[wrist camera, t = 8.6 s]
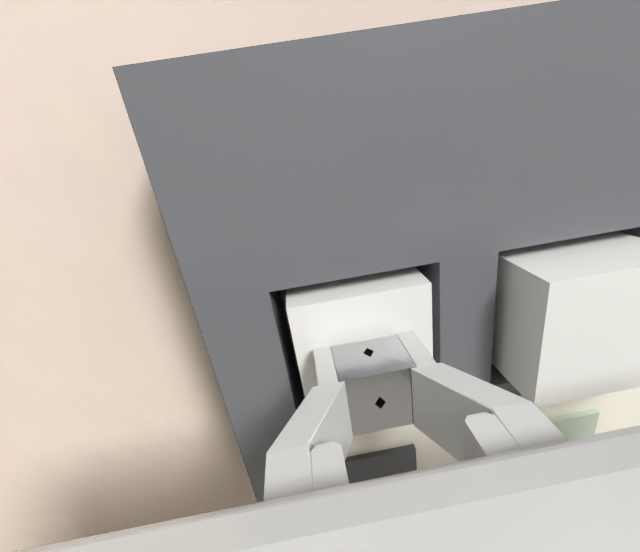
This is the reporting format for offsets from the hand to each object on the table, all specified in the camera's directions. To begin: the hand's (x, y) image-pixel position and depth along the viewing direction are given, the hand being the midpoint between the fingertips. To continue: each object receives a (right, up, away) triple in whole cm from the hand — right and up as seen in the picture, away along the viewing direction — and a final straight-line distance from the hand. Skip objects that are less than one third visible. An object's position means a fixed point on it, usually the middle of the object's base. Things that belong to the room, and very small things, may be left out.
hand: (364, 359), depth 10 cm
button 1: (0, +1, +3) cm, 3 cm away
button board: (+6, +3, +4) cm, 8 cm away
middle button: (+6, +2, +2) cm, 7 cm away
